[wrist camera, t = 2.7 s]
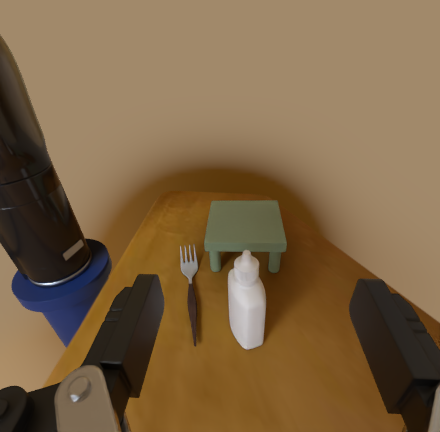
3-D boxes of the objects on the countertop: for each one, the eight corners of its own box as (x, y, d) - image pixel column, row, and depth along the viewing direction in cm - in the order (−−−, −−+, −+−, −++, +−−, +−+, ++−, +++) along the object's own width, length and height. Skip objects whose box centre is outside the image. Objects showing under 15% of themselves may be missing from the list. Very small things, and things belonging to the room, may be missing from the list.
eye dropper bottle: (265, 310, 33) (271, 236, 26) (262, 354, 29) (268, 277, 22) (231, 305, 34) (229, 232, 27) (222, 347, 29) (217, 271, 23)
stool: (207, 273, 39) (203, 242, 35) (213, 228, 48) (211, 200, 44) (283, 275, 38) (287, 243, 34) (274, 229, 47) (277, 200, 44)
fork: (184, 350, 29) (181, 340, 28) (180, 255, 42) (178, 245, 41) (207, 347, 30) (205, 336, 28) (196, 252, 43) (195, 243, 42)
